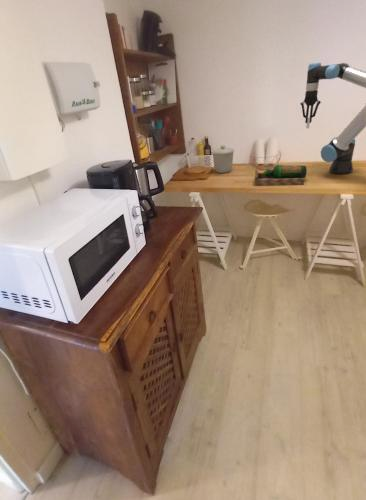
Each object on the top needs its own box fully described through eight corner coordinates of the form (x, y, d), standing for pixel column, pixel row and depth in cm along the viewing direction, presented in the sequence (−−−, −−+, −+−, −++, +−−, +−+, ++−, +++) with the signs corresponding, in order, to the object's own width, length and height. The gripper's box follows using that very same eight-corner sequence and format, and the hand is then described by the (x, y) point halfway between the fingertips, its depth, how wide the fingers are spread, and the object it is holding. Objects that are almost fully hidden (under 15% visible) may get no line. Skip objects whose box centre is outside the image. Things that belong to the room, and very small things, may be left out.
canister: (239, 170, 240) (239, 143, 229) (224, 175, 230) (224, 148, 219) (222, 167, 252) (221, 141, 241) (208, 172, 242) (206, 146, 231)
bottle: (307, 164, 194) (264, 165, 201) (306, 180, 197) (263, 181, 204) (305, 164, 204) (263, 165, 211) (303, 179, 207) (263, 180, 214)
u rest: (300, 176, 210) (301, 168, 207) (303, 184, 196) (304, 175, 193) (255, 178, 218) (255, 170, 215) (254, 185, 204) (254, 177, 201)
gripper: (321, 88, 196) (316, 126, 208) (300, 90, 199) (297, 127, 211) (323, 89, 190) (318, 128, 202) (302, 91, 193) (298, 129, 205)
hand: (307, 127), depth 207 cm, fingers closed
